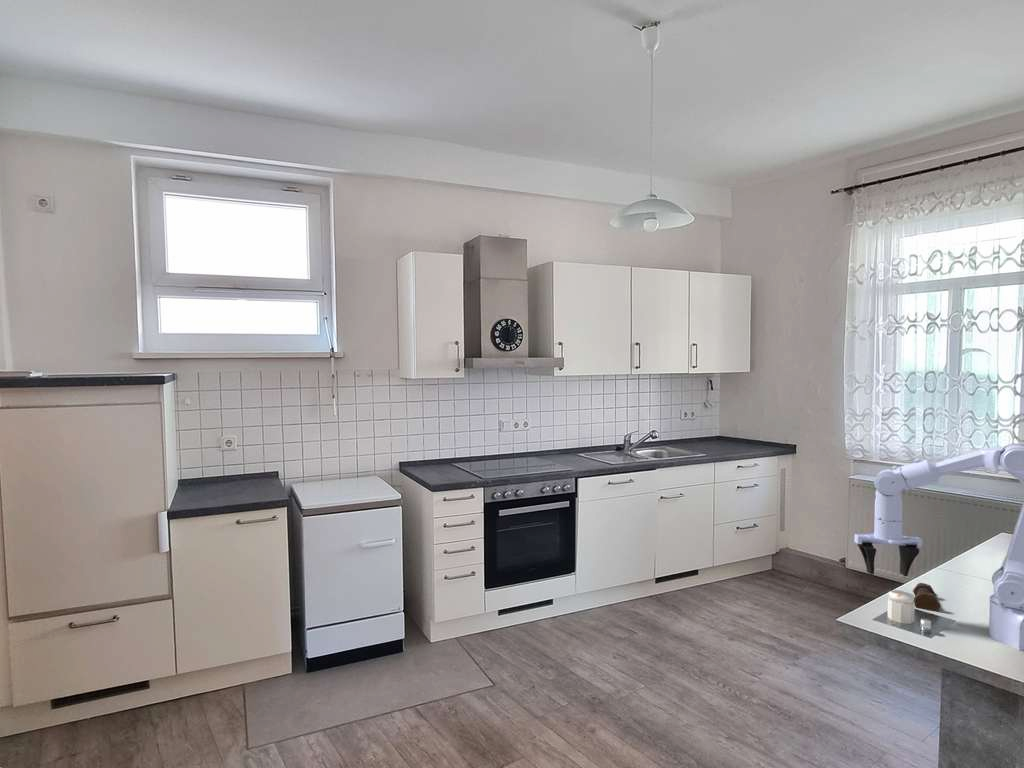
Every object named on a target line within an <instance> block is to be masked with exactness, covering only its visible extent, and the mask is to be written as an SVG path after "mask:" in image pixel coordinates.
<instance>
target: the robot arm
mask: <svg viewBox="0 0 1024 768" xmlns="http://www.w3.org/2000/svg"><path fill="white" fill-rule="evenodd" d="M999 466H1001V467H1002V469H1003V470H1004V472H1006V473H1008V474H1010V476H1012V477H1014V478H1015V479H1017V480H1018V481H1019V483H1020V484H1021V485H1022V486H1023V487H1024V444H1022V443H1009V444H1007V445H1004V446H1002V445H999V446H993V447H988V448H981V449H978V450H975V451H972V452H969V453H965V454H962V455H961V454H960V455H958V456H955V457H954V456H953V457H951V458H949V459H945V460H941V461H938V462H934V461H931V460H928V459H924V460H922V459H921V458H917V459H914V460H913V462H912V463H908V464H904V465H901V466H898V465H894V466H892V469H888V468H887V469H884V470H881V471H879V472H878V473H877V475H876V476H875V478H874V480H873V483H874V487H875V489H876V491H875V493H874V494H875V495H874V496H875V498H874V524H873V525H874V527H873V528H874V530H873V533H865V534H864V533H863V534H862V533H861V534H860V533H859V534H857V533H855V534H854V540H853V541H854V543H855V544H857V547H858V548H859V550H860V552H861V555H862V557H863V559H864V560H863V561H864V563H865V569H866V572H867V573H868V574H870V575H874V574H875V557H876V553H877V549H876V548H875V547H874V545H884V546H885V545H888V546H898V550H899V551H898V552H899V572H900V574H901V575H902V576H903V577H908V576H909V572H910V569H911V566H912V564H913V562H914V560H915V559H916V558H917V556H918V555H919V554H920V548H922V547H923V539H921V538H920V537H918V536H907V535H903V501H902V491H903V490H907V491H910V490H914V489H918V488H921V487H926V486H930V485H934V484H938V482H939V481H940V479H941V477H942V476H947V475H952V474H956V473H961V472H966V471H970V470H973V469H975V470H976V469H978V468H979V469H980V468H985V469H990V470H994V471H999ZM1012 533H1013V534H1012V536H1011V539H1010V543H1009V546H1008V548H1007V549H1008V550H1007V551H1006V555H1005V556H1004V559H1003V560H1002V562H1001V566H1000V567H999V568H998V569H997V570H995V571H994V572H993V574H992V577H991V582H992V585H993V594H991V595H989V617H988V619H989V622H988V624H989V625H988V627H989V628H988V635H989V637H991V638H993V640H996V641H999V642H1000V643H1003V644H1005V645H1007V646H1010V647H1011V648H1013V649H1015V650H1018V651H1024V500H1023V502H1022V505H1021V508H1020V510H1019V514H1018V518H1017V521H1016V524H1015V527H1014V530H1013V532H1012Z"/></svg>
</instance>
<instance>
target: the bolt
mask: <svg viewBox="0 0 1024 768" xmlns="http://www.w3.org/2000/svg"><path fill="white" fill-rule="evenodd" d="M912 592H913V594H914V603H915V609H918V610H923V611H924V610H926V611H932V612H938V611H939V610H940V609H941V604H940V602H939V601H938V598H937V597H936V595H937V594H936V593H935V591H934V589H933V587H932V586H931V585H930V584H927V583H924V582H918V583H917V584H916V585H915V587H913V589H912Z"/></svg>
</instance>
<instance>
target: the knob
mask: <svg viewBox="0 0 1024 768" xmlns="http://www.w3.org/2000/svg"><path fill="white" fill-rule="evenodd" d="M914 597H915V595H913V594H912V593H911V592H907V591H904V590H897V589H894V590H889V591H888V597H887V611H888V618H890V619H891V620H893V621H896V622H899V623H906V624H912V623H913V622H914V615H915V609H916V607H915V603H914Z"/></svg>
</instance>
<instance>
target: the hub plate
mask: <svg viewBox="0 0 1024 768" xmlns="http://www.w3.org/2000/svg"><path fill="white" fill-rule="evenodd" d="M871 620H872V621H875V622H878V623H881V624H884V625H888V626H891V627H894V628H897V629H901V630H903V631H906V632H910V633H913V634H916V635H920V636H922V637H925V638H929V639H932V638H934V637H936V635H938V634H940V633H941V632H942V631H944V630H945V629H946V628H947V627H949V626H951V625H952V624H953V623H955V622H957V620H955V619H952V618H948V617H945V616H941V615H938V614H934V613H930V612H928V611H924V610H922V609H918V608H915V615H914V622H913V623H912V624H906V623H899V622H896V621H893V620H891V619H890V618H888V610H887V611H885V612H883V613H881V614H879V615H878V616H875V617H874V618H872V619H871Z"/></svg>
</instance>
